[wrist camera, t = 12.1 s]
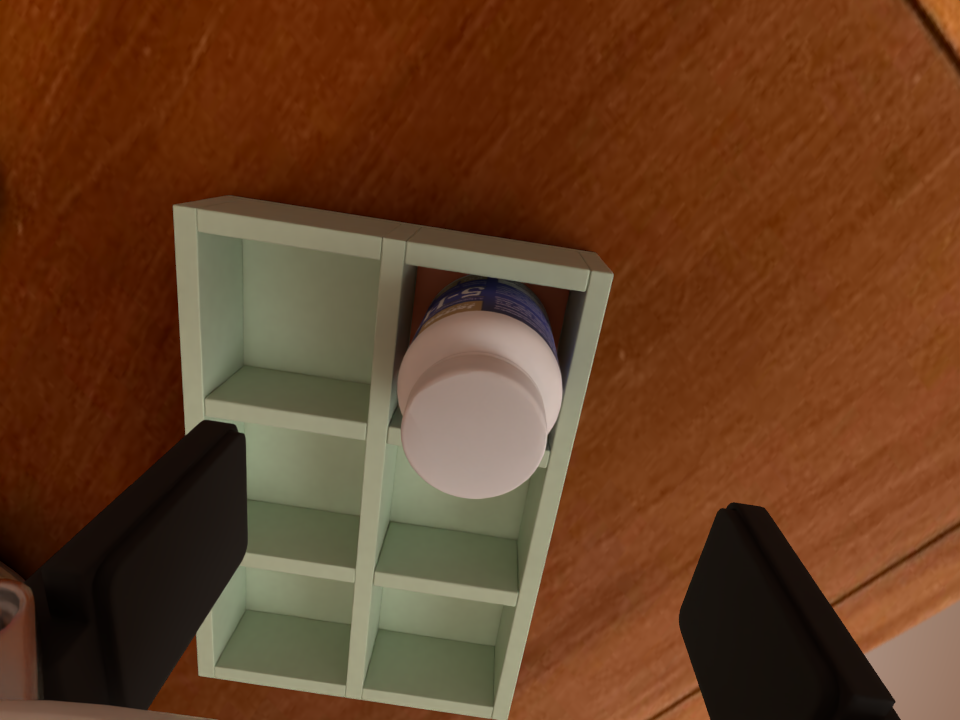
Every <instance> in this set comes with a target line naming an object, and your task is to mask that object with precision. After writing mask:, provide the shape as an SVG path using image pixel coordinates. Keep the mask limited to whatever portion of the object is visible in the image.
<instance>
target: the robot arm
mask: <svg viewBox="0 0 960 720" xmlns="http://www.w3.org/2000/svg"><path fill="white" fill-rule="evenodd" d="M247 545H248V518H247V467H246V437H245V434H244V433H240V432H238V429H237V426H236V425H235V424H231V423H225V422H218V421H212V420H203V421H201V422H200V423H199V424H198V425H196V426H195V427H194V428H193V429H192V430H191V431H190V432H189V433H188V434H187V435H185V436H184V437H183V438H182V439H181V440H180V441H179V442H178V443H177V444H176V445H175V446H173V447H172V448H171V449H170V450H169V451H168V452H167V453H166V454H165V455H164V456H162V457H161V458H160V459H159V460H158V461H157V462H156V463H155V464H154V465H153V466H152V467H150V468H149V469H148V470H147V471H146V472H145V473H144V474H143V475H142V476H141V477H139V478H138V479H137V480H136V481H135V482H134V483H133V484H132V485H130V486H129V487H128V488H127V489H126V490H125V491H124V492H122V493H121V494H120V495H119V496H118V497H117V498H116V499H115V500H114V501H113V502H111V503H110V504H109V505H108V506H107V507H106V508H105V509H104V510H103V511H102V512H100V513H99V514H98V515H97V516H96V517H95V518H94V519H93V520H92V521H91V522H90V523H88V524H87V525H86V526H85V527H84V528H83V529H82V530H81V531H80V532H79V533H77V534H76V535H75V536H74V537H73V538H72V539H71V540H70V541H69V542H68V543H66V544H65V545H64V546H63V547H62V548H61V549H60V550H59V551H58V552H57V553H55V554H54V555H53V556H52V557H51V558H50V559H49V560H48V561H47V562H46V563H45V564H43V565H42V566H41V567H40V568H39V569H38V570H37V571H36V572H35V573H34V574H32V575H31V576H30V577H29V578H28V579H27V580H26V581H25V582H24V583H23V582H21V581H17V580H12V579H8V578H0V720H216V719H209V718H201V717H194V716H186V715H178V714H171V713H163V712H155V711H148V710H147V709H148V708H149V706H150V705H151V703H152V701H153V700H154V698H155V697H156V695H157V694H158V692H159V690H160V689H161V687H162V686H163V684H164V683H165V681H166V680H167V678H168V676H169V675H170V673H171V672H172V670H173V669H174V667H175V665H176V664H177V662H178V661H179V659H180V658H181V656H182V654H183V653H184V651H185V650H186V648H187V647H188V645H189V644H190V642H191V640H192V639H193V637H194V636H195V634H196V633H197V631H198V629H199V628H200V626H201V625H202V623H203V622H204V620H205V618H206V617H207V615H208V614H209V612H210V611H211V609H212V608H213V606H214V604H215V603H216V601H217V600H218V598H219V597H220V595H221V593H222V592H223V590H224V589H225V587H226V586H227V584H228V583H229V581H230V579H231V578H232V576H233V575H234V573H235V572H236V570H237V568H238V567H239V565H240V564H241V562H242V560H243V558H244V556H245V553H246V550H247ZM679 625H680V630H681V633H682V636H683V639H684V642H685V645H686V648H687V651H688V654H689V657H690V660H691V663H692V666H693V669H694V672H695V675H696V678H697V681H698V684H699V687H700V690H701V693H702V696H703V699H704V702H705V705H706V708H707V711H708V714H709V717H710V720H901V719H900V718H899V717H898V715H897V713H896V712H895V710H894V709H893V707H892V706H893V705H894V703H895V700H894V699H893V698H892V696H891V694H890V693H889V691H888V690H887V688H886V687H885V685H884V684H883V683H882V681H881V679H880V678H879V676H878V675H877V673H876V672H875V671H874V669H873V667H872V666H871V664H870V663H869V661H868V660H867V658H866V657H865V655H864V654H863V653H862V651H861V650H860V648H859V647H858V645H857V644H856V642H855V641H854V639H853V638H852V636H851V635H850V633H849V632H848V630H847V629H846V627H845V626H844V624H843V623H842V621H841V620H840V618H839V617H838V615H837V614H836V612H835V611H834V609H833V608H832V607H831V605H830V604H829V602H828V601H827V599H826V598H825V596H824V595H823V593H822V592H821V590H820V589H819V587H818V586H817V584H816V583H815V581H814V580H813V578H812V577H811V575H810V574H809V572H808V571H807V569H806V568H805V566H804V565H803V563H802V562H801V561H800V559H799V558H798V556H797V555H796V553H795V552H794V550H793V549H792V547H791V546H790V544H789V543H788V541H787V540H786V538H785V537H784V535H783V534H782V532H781V531H780V529H779V528H778V526H777V525H776V523H775V522H774V520H773V519H772V518H771V516H770V515H769V513H768V512H767V510H766V509H765V508H763V507H760V506H753V505H747V504H741V503H734V502H733V503H730V504H729V505H728V506H727V508H726V509H724V508H722V509H720V510H719V511H718V512H717V514H716V517H715V520H714V522H713V525H712V527H711V530H710V533H709V535H708V538H707V541H706V543H705V546H704V548H703V551H702V554H701V556H700V559H699V562H698V564H697V567H696V569H695V572H694V575H693V577H692V580H691V583H690V585H689V588H688V590H687V593H686V596H685V598H684V601H683V603H682V606H681V609H680V614H679Z"/></svg>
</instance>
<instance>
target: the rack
mask: <svg viewBox="0 0 960 720" xmlns="http://www.w3.org/2000/svg"><path fill="white" fill-rule="evenodd" d="M173 219H174V237H175V256H176V274H177V292H178V310H179V329H180V347H181V365H182V383H183V402H184V420H185V435H187V434H188V433H189V432H190V431H191V430H192V429H193V428H194V427H195V426H196V425H198V424H199V423H200V422H201V421H203V420H212V421H218V422H225V423H231V424H235V425H236V426H237V429H238V432H240V433H244V434H245V437H246V467H247V518H248V545H247V550H246V553H245V556H244V558H243V560H242V562H241V564H240V565H239V567H238V568H237V570H236V572H235V573H234V575H233V576H232V578H231V579H230V581H229V583H228V584H227V586H226V587H225V589H224V590H223V592H222V593H221V595H220V597H219V598H218V600H217V601H216V603H215V604H214V606H213V608H212V609H211V611H210V612H209V614H208V615H207V617H206V618H205V620H204V622H203V623H202V625H201V626H200V628H199V629H198V631H197V633H196V639H197V657H198V675H199V676H204V677H211V678H217V679H224V680H231V681H238V682H244V683H251V684H258V685H265V686H271V687H278V688H285V689H292V690H299V691H305V692H312V693H319V694H326V695H333V696H339V697H346V698H353V699H360V700H361V699H362V700H367V701H373V702H380V703H387V704H394V705H401V706H407V707H414V708H421V709H428V710H435V711H441V712H448V713H455V714H462V715H468V716H475V717H482V718H489V719H490V718H492V719H497V720H507V719H508V715H509V711H510V707H511V703H512V698H513V694H514V690H515V686H516V682H517V677H518V673H519V669H520V665H521V661H522V657H523V652H524V648H525V644H526V640H527V636H528V631H529V627H530V623H531V619H532V615H533V611H534V606H535V602H536V598H537V594H538V590H539V585H540V581H541V577H542V573H543V569H544V565H545V560H546V556H547V552H548V548H549V544H550V539H551V535H552V531H553V527H554V523H555V519H556V514H557V510H558V506H559V502H560V498H561V493H562V489H563V485H564V481H565V477H566V473H567V468H568V464H569V460H570V456H571V452H572V447H573V443H574V439H575V435H576V431H577V427H578V422H579V418H580V414H581V410H582V406H583V401H584V397H585V393H586V389H587V385H588V381H589V376H590V372H591V368H592V364H593V360H594V355H595V351H596V347H597V343H598V339H599V335H600V330H601V326H602V322H603V318H604V314H605V309H606V305H607V301H608V297H609V293H610V288H611V284H612V280H613V276H614V275H613V273H612V271H611V270H610V269H609V268H608V267H607V265H606V264H605V263H604V262H603V261H602V260H601V258H600V257H599V256H598V255H597V253H595V252H589V251H583V250H576V249H570V248H563V247H557V246H551V245H544V244H538V243H531V242H525V241H519V240H512V239H506V238H500V237H493V236H487V235H480V234H474V233H468V232H461V231H455V230H448V229H442V228H436V227H429V226H423V225H416V224H410V223H404V222H397V221H391V220H385V219H378V218H372V217H365V216H359V215H353V214H346V213H340V212H333V211H327V210H321V209H314V208H308V207H301V206H295V205H289V204H282V203H276V202H270V201H263V200H257V199H250V198H244V197H238V196H231V195H227V196H221V197H215V198H210V199H204V200H198V201H192V202H187V203H181V204H175V205H173ZM470 274H472V275H478V276H484V277H491V278H497V279H504V280H510V281H517V282H521V283H523V284H524V285H526V286H527V287H528V288H529V289H531V290H532V291H533V292H534V294H535V295H536V296H537V297H538V298H539V300H540V301H541V303H542V304H543V306H544V308H545V310H546V312H547V315H548V318H549V321H550V325H551V328H552V334H553V338H554V343H555V347H556V352H557V357H558V361H559V366H560V371H561V376H562V389H563V390H562V402H561V408H560V411H559V414H558V417H557V420H556V422H555V424H554V426H553V427H552V429H551V430H550V432H549V433H548V435H547V443H546V449H545V452H544V455H543V458H542V460H541V462H540V464H539V466H538V467H537V469H536V470H535V472H534V473H533V474H532V475H531V476H530V477H529V479H527V480H526V481H525V482H524V483H522V484H521V485H520V486H518V487H517V488H515V489H513V490H511V491H509V492H507V493H505V494H502V495H499V496H495V497H491V498H483V499H468V498H461V497H456V496H453V495H450V494H447V493H444V492H442V491H440V490H438V489H437V488H434V487H433V486H431V485H430V484H428V483H427V482H426V481H425V480H423V479H422V478H421V477H420V476H419V475H418V474H417V473H416V471H415V470H414V469H413V468H412V466H411V465H410V463H409V461H408V459H407V457H406V455H405V452H404V449H403V446H402V441H401V422H402V417H403V416H402V413H401V410H400V407H399V402H398V395H397V381H398V374H399V370H400V366H401V363H402V361H403V358H404V356H405V353H406V351H407V349H408V347H409V345H410V344H411V342H412V340H413V338H414V336H415V334H416V332H417V330H418V328H419V326H420V324H421V322H422V320H423V318H424V316H425V314H426V312H427V310H428V308H429V306H430V304H431V303H432V301H433V299H434V298H435V297H436V296H437V294H438V293H439V292H440V291H441V290H442V289H444V288H445V287H446V286H447V285H449V284H450V283H452V282H453V281H455V280H457V279H459V278H461V277H464V276H466V275H470Z"/></svg>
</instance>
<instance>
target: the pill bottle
mask: <svg viewBox="0 0 960 720" xmlns="http://www.w3.org/2000/svg"><path fill="white" fill-rule="evenodd" d="M562 390H563V389H562V376H561V371H560V366H559V361H558V357H557V352H556V347H555V343H554V338H553V334H552V328H551V325H550V321H549V318H548V315H547V312H546V310H545V308H544V306H543V304H542V303H541V301H540V300H539V298H538V297H537V296H536V295H535V294H534V292H533V291H532V290H531V289H529V288H528V287H527V286H526V285H524V284H523V283H521V282H517V281H510V280H504V279H497V278H491V277H484V276H478V275H472V274H470V275H466V276H464V277H461V278H459V279H457V280H455V281H453V282H452V283H450V284H449V285H447V286H446V287H445V288H444V289H442V290H441V291H440V292H439V293H438V294H437V296H436V297H435V298H434V299H433V301H432V303H431V304H430V306H429V308H428V310H427V312H426V314H425V316H424V318H423V320H422V322H421V324H420V326H419V328H418V330H417V332H416V334H415V336H414V338H413V340H412V342H411V344H410V345H409V347H408V349H407V351H406V353H405V356H404V358H403V361H402V363H401V366H400V370H399V374H398V381H397V395H398V402H399V407H400V410H401V413H402V416H403V417H402V422H401V441H402V446H403V449H404V452H405V455H406V457H407V459H408V461H409V463H410V465H411V466H412V468H413V469H414V470H415V471H416V473H417V474H418V475H419V476H420V477H421V478H422V479H423V480H425V481H426V482H427V483H428V484H430V485H431V486H433V487H434V488H437V489H438V490H440V491H442V492H444V493H447V494H450V495H453V496H456V497H461V498H468V499H483V498H491V497H495V496H499V495H502V494H505V493H507V492H509V491H511V490H513V489H515V488H517V487H518V486H520V485H521V484H522V483H524V482H525V481H526V480H527V479H529V477H530V476H531V475H532V474H533V473H534V472H535V470H536V469H537V467H538V466H539V464H540V462H541V460H542V458H543V455H544V452H545V449H546V443H547V435H548V433H549V432H550V430H551V429H552V427H553V426H554V424H555V422H556V420H557V417H558V414H559V411H560V408H561V402H562Z"/></svg>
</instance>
